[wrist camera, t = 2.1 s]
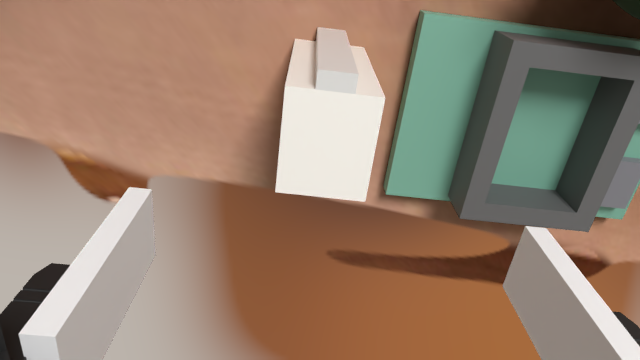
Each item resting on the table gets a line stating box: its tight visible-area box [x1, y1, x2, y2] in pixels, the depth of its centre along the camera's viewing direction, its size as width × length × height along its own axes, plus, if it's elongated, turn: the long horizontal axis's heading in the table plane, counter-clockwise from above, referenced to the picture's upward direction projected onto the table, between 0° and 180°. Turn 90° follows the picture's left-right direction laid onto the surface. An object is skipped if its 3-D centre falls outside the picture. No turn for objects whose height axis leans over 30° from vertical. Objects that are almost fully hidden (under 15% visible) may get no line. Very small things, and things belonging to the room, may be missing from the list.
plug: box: [275, 27, 385, 202], centre depth 30 cm, size 5×7×12 cm
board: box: [384, 10, 640, 232], centre depth 34 cm, size 20×14×5 cm
